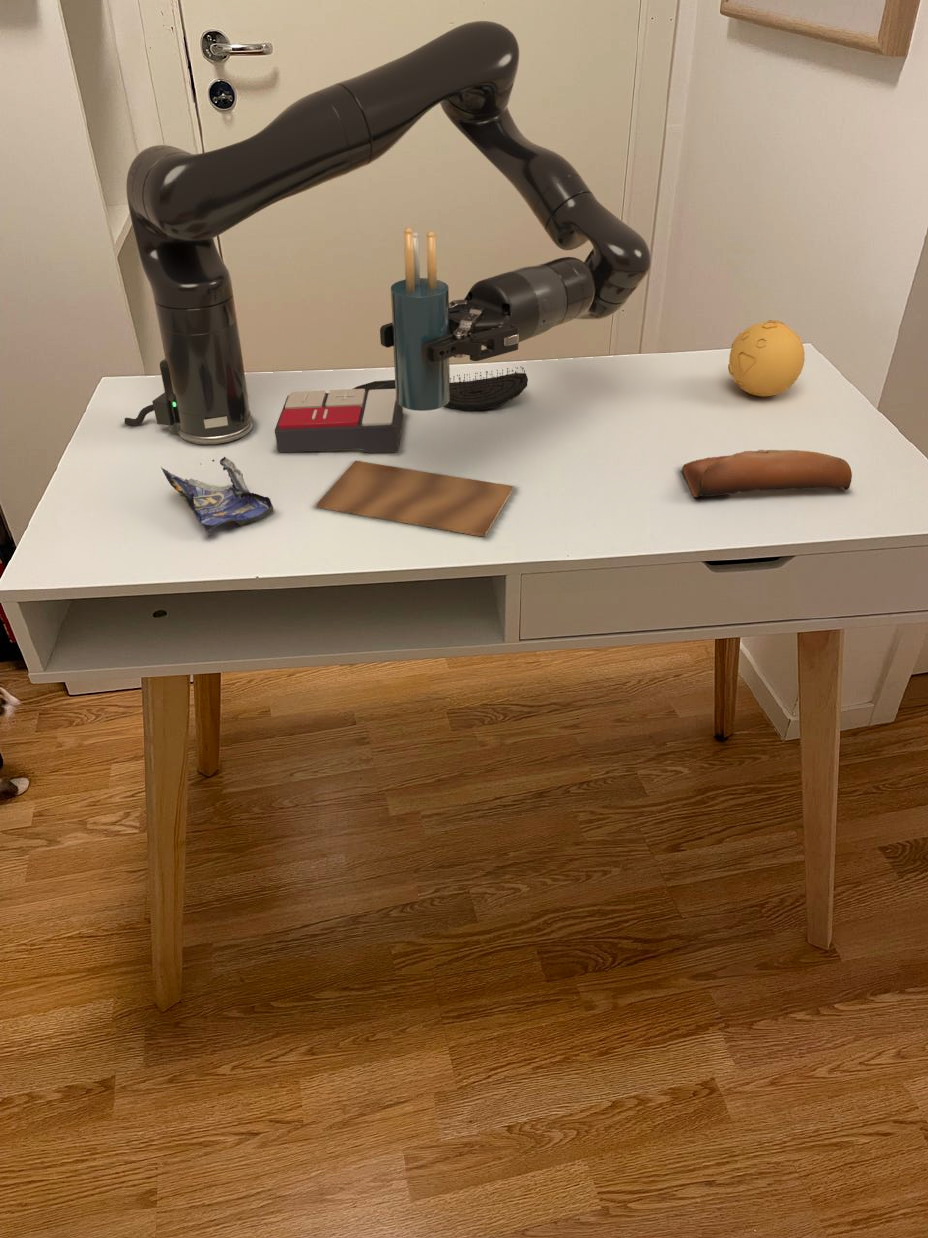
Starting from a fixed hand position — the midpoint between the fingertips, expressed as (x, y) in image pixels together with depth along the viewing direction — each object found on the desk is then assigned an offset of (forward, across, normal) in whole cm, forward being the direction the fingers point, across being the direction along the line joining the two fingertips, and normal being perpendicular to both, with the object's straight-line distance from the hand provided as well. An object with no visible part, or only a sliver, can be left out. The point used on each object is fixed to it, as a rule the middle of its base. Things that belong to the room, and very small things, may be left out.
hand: (403, 345), depth 98 cm
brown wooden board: (-2, +1, -19) cm, 19 cm away
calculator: (-6, +20, -19) cm, 28 cm away
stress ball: (-55, -10, -19) cm, 60 cm away
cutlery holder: (-2, 0, -7) cm, 7 cm away
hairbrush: (-22, +19, -19) cm, 35 cm away
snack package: (+16, +14, -19) cm, 28 cm away
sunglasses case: (-34, -25, -19) cm, 46 cm away
